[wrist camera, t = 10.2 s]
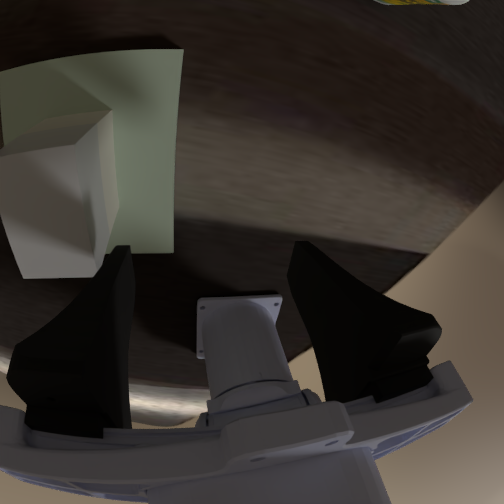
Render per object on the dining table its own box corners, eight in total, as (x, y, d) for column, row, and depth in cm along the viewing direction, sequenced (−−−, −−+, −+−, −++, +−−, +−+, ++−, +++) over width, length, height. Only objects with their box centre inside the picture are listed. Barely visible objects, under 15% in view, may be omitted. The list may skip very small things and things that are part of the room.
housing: (112, 109, 15) (74, 144, 9) (119, 206, 19) (98, 276, 13) (46, 118, 14) (-14, 159, 8) (59, 210, 18) (23, 278, 12)
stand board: (173, 241, 23) (173, 252, 22) (34, 243, 20) (28, 254, 19) (183, 49, 15) (183, 49, 14) (10, 69, 12) (-1, 71, 11)
